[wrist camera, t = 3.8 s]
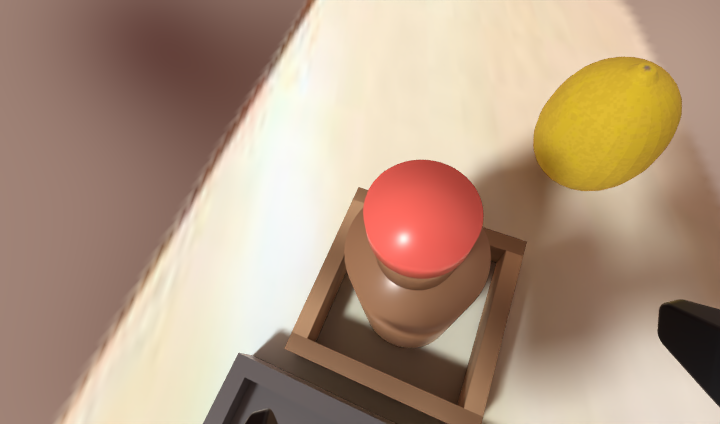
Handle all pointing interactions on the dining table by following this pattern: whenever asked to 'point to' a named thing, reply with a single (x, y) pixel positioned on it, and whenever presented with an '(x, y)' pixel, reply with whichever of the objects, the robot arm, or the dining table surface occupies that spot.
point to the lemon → (607, 123)
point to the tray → (281, 398)
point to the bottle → (417, 251)
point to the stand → (458, 417)
